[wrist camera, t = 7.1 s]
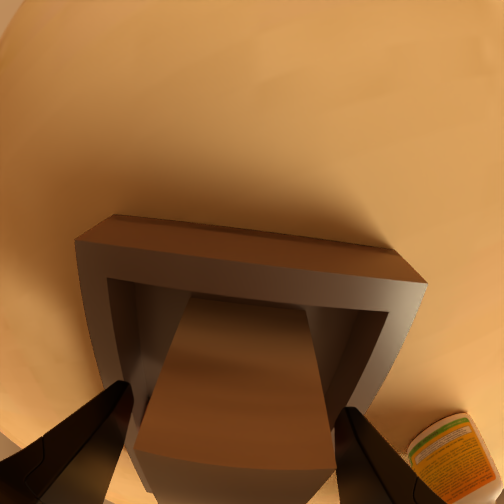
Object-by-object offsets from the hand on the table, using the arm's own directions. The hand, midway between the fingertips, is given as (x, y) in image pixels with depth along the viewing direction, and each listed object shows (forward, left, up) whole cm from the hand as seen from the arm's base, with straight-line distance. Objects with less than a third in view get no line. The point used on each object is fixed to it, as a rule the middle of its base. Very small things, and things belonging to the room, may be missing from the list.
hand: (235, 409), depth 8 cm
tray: (-4, 0, -4) cm, 6 cm away
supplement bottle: (-8, -15, -4) cm, 18 cm away
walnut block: (0, 0, -3) cm, 3 cm away
